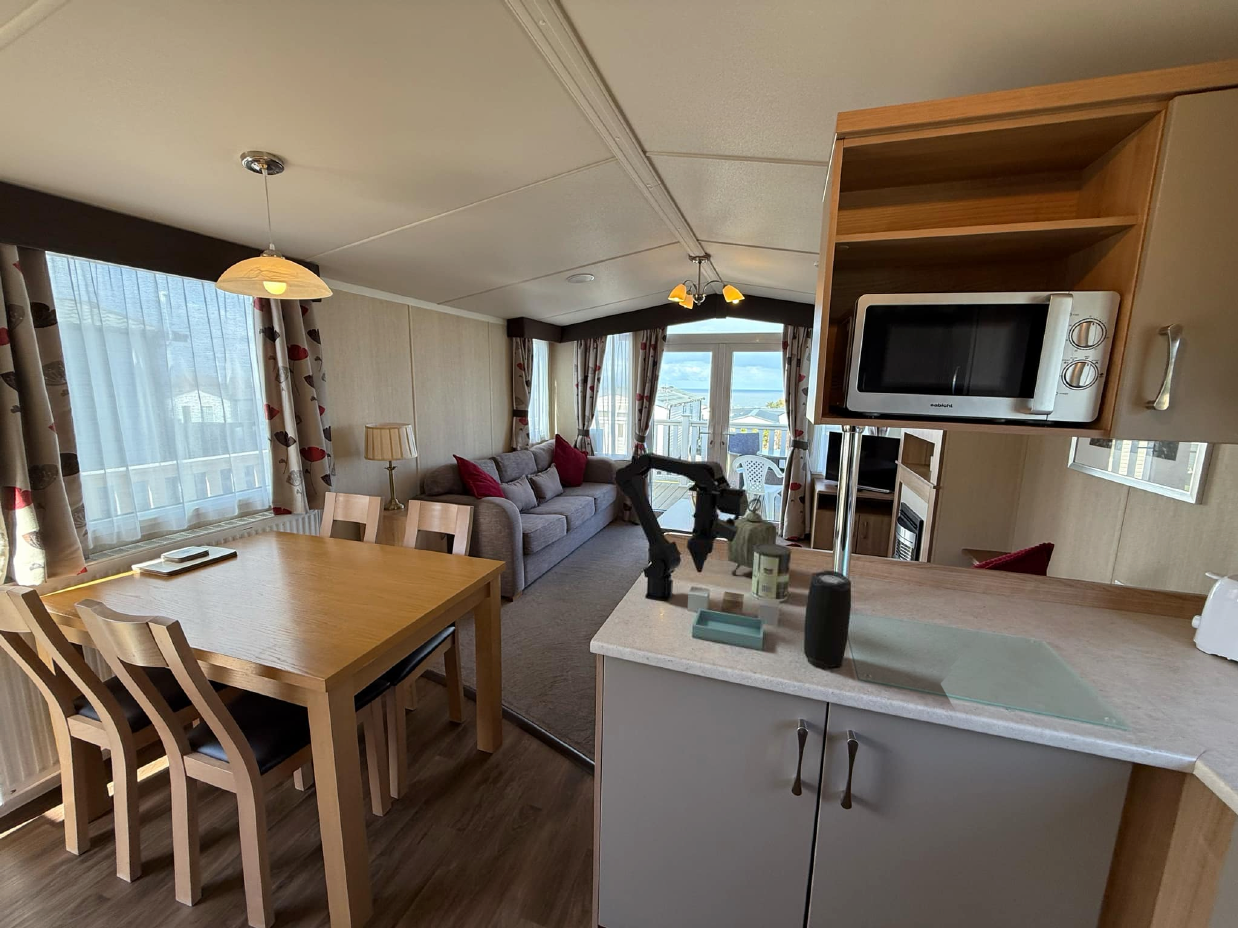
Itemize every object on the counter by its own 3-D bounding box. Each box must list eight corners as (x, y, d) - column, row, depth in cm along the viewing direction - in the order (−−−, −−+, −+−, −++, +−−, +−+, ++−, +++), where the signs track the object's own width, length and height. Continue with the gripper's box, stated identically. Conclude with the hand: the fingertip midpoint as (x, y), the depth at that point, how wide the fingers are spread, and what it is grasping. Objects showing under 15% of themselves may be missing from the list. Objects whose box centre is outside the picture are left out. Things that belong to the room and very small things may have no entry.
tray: (691, 636, 115) (692, 625, 115) (698, 619, 124) (698, 608, 124) (761, 649, 110) (762, 637, 110) (762, 630, 119) (763, 619, 119)
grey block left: (687, 610, 129) (688, 593, 128) (690, 603, 134) (691, 586, 133) (706, 614, 128) (707, 596, 127) (708, 606, 132) (709, 589, 132)
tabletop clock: (751, 565, 165) (757, 493, 162) (775, 573, 158) (781, 498, 155) (725, 574, 156) (730, 499, 152) (749, 583, 149) (754, 504, 146)
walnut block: (721, 616, 126) (722, 598, 126) (723, 608, 131) (724, 591, 130) (741, 619, 125) (742, 601, 124) (742, 611, 130) (743, 594, 129)
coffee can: (781, 588, 146) (784, 543, 144) (792, 602, 136) (796, 554, 134) (746, 586, 147) (750, 542, 144) (755, 601, 136) (759, 553, 134)
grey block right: (757, 622, 124) (758, 604, 123) (758, 614, 128) (759, 596, 128) (777, 626, 122) (779, 607, 121) (777, 617, 127) (779, 599, 126)
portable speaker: (797, 663, 105) (805, 577, 102) (807, 645, 113) (815, 565, 110) (840, 677, 100) (849, 587, 98) (847, 657, 108) (856, 574, 105)
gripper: (734, 522, 116) (729, 583, 118) (739, 505, 133) (735, 559, 136) (688, 516, 119) (684, 576, 121) (699, 500, 136) (695, 553, 139)
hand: (701, 566), depth 129 cm, fingers open, 9 cm apart
